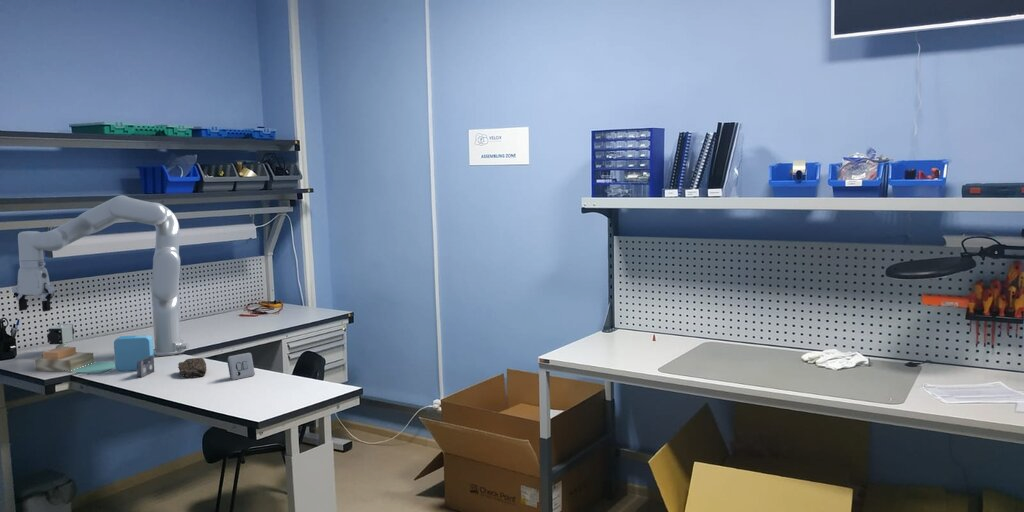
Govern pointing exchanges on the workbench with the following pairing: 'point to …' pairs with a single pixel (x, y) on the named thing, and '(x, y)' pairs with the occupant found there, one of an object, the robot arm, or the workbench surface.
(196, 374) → the brown rock
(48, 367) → the deck
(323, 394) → the workbench surface
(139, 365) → the mini dv tape
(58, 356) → the orange sponge
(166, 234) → the robot arm
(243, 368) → the electrical switch
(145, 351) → the data package
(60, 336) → the pneumatic valve
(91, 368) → the mat
